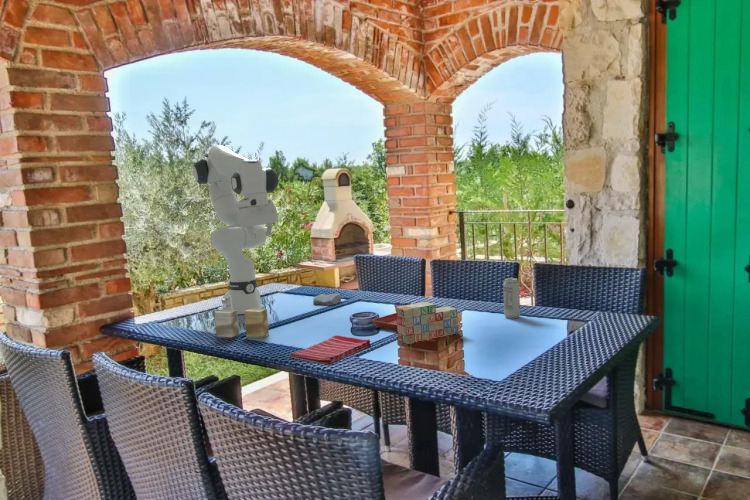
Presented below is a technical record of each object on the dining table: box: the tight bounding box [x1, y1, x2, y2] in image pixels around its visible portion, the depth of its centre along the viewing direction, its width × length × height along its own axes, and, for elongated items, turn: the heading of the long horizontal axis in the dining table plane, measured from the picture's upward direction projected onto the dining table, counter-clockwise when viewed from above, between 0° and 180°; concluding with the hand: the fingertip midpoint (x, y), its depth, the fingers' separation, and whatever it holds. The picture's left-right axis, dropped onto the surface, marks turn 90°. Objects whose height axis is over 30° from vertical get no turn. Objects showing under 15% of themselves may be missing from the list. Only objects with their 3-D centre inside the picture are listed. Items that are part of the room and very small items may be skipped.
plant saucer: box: [371, 312, 398, 332], centre depth 231 cm, size 18×18×3 cm
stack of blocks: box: [395, 301, 459, 345], centre depth 212 cm, size 21×6×12 cm, turn 117°
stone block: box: [312, 293, 342, 306], centre depth 282 cm, size 12×5×10 cm
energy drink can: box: [502, 277, 521, 320], centre depth 234 cm, size 6×6×15 cm
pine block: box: [214, 310, 240, 340], centre depth 228 cm, size 4×7×10 cm, turn 67°
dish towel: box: [289, 335, 371, 365], centre depth 202 cm, size 17×24×3 cm
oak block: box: [244, 308, 270, 339], centre depth 227 cm, size 4×7×10 cm, turn 67°
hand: (261, 236), depth 235 cm, fingers open, 8 cm apart
